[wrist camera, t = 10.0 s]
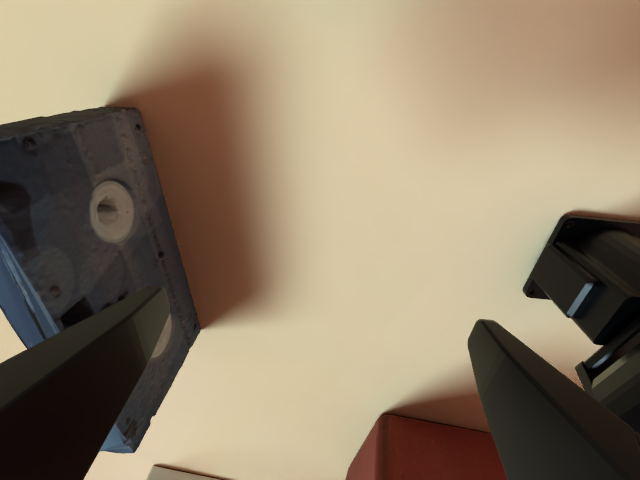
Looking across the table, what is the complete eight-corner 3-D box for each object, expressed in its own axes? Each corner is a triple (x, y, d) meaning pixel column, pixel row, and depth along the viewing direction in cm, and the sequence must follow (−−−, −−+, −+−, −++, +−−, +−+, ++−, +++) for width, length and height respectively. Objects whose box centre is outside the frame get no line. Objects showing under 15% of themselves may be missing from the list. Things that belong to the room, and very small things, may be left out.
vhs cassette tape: (98, 103, 18) (-124, 141, 9) (148, 105, 18) (-32, 145, 9) (169, 328, 27) (90, 451, 19) (202, 330, 27) (137, 455, 18)
